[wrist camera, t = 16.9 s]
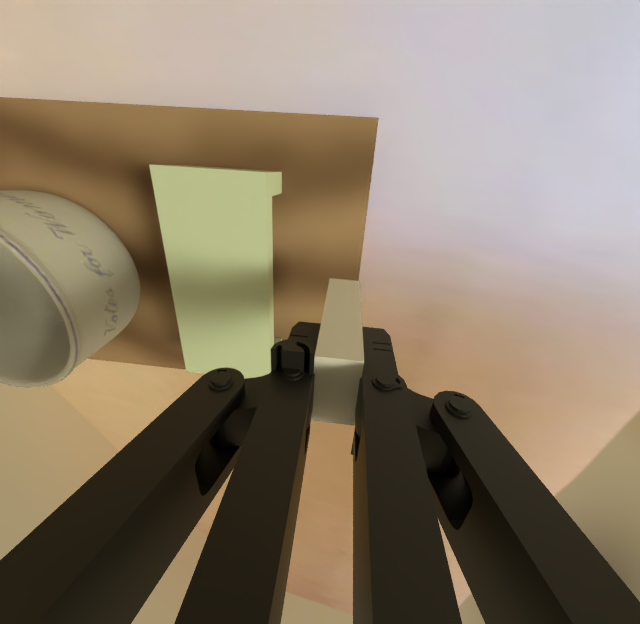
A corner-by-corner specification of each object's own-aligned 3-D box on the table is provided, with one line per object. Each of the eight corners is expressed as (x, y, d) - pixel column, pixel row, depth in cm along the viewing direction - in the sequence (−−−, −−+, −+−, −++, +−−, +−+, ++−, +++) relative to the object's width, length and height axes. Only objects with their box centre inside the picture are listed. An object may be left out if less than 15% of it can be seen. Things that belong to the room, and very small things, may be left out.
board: (-59, 97, 19) (-120, 86, 16) (376, 121, 17) (380, 113, 15) (45, 345, 27) (16, 362, 25) (345, 378, 26) (344, 399, 23)
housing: (186, 165, 18) (149, 164, 15) (281, 171, 18) (265, 172, 14) (209, 343, 24) (186, 371, 21) (281, 350, 23) (270, 380, 20)
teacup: (189, 305, 22) (113, 368, 15) (85, 342, 25) (-21, 410, 18) (64, 101, 17) (-140, 54, 10) (-51, 175, 20) (-277, 178, 13)
